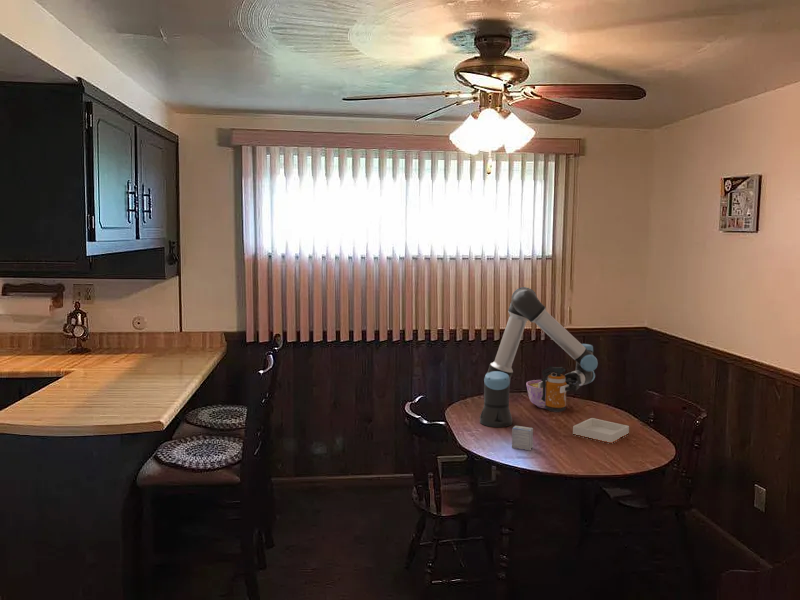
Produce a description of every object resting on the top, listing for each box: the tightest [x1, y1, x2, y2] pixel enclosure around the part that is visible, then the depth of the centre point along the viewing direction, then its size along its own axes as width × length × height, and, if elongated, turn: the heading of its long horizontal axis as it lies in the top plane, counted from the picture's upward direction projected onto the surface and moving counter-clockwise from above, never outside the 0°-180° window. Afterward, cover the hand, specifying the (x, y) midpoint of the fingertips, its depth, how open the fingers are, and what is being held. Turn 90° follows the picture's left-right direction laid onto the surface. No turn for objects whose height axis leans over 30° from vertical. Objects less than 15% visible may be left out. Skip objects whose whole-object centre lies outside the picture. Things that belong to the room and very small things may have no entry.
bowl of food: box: [526, 379, 546, 409], centre depth 341 cm, size 20×20×12 cm
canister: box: [541, 365, 567, 413], centre depth 297 cm, size 9×11×20 cm
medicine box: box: [511, 425, 534, 451], centre depth 277 cm, size 8×4×9 cm, turn 65°
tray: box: [572, 417, 630, 442], centre depth 296 cm, size 18×18×4 cm
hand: (549, 387), depth 294 cm, fingers closed on canister, 10 cm apart
